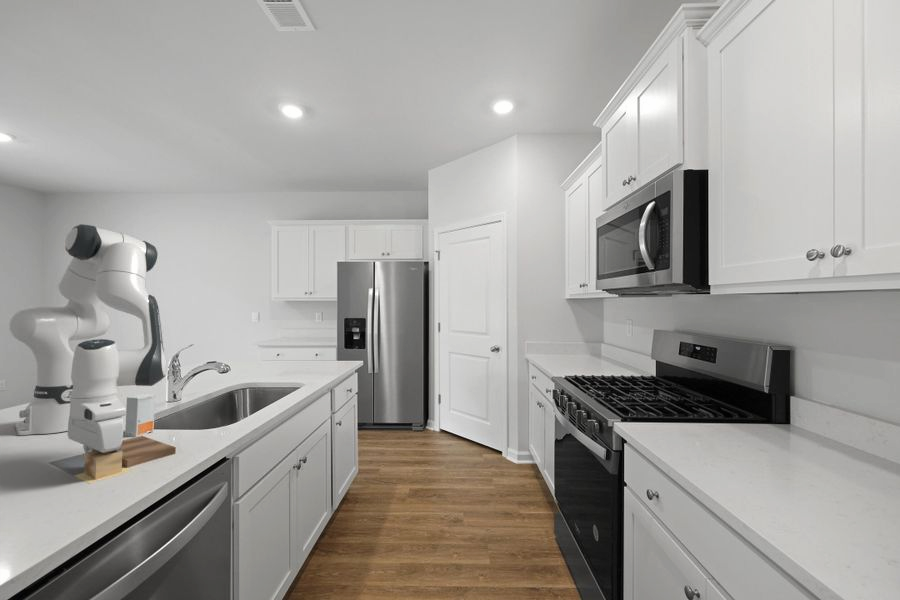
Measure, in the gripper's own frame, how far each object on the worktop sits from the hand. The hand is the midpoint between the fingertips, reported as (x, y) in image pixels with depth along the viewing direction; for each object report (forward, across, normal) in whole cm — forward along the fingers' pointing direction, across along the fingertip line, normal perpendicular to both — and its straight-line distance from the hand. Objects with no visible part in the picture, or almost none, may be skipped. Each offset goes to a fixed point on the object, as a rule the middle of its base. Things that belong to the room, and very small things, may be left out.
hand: (92, 462), depth 98 cm
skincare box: (+2, -20, +19) cm, 28 cm away
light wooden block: (+1, +5, 0) cm, 6 cm away
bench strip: (+2, -2, 0) cm, 2 cm away
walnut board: (+2, -2, +10) cm, 10 cm away
